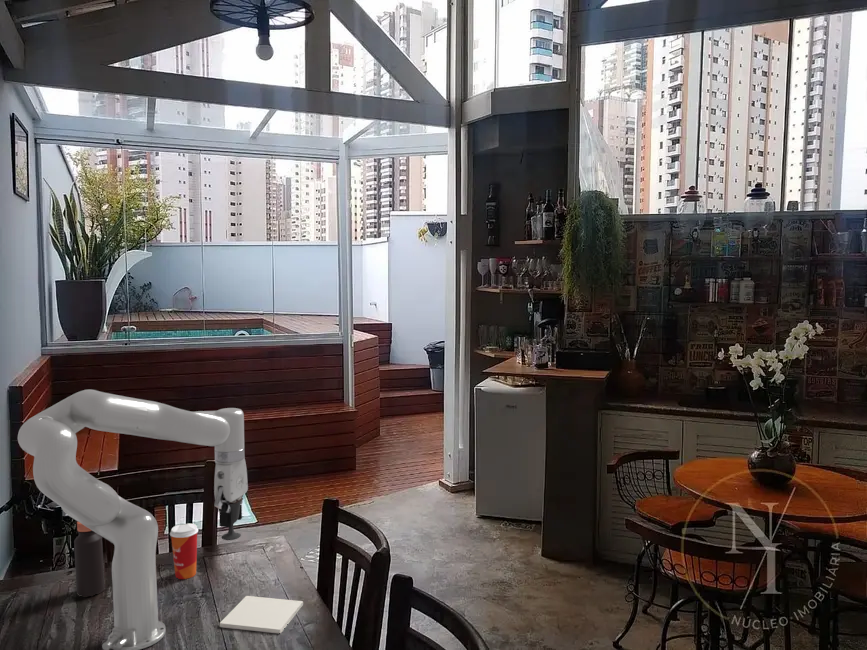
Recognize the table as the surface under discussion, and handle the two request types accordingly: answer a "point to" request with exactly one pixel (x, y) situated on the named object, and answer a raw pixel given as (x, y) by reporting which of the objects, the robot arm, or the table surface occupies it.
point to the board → (262, 614)
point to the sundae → (233, 519)
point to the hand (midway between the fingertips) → (231, 522)
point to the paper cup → (184, 550)
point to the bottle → (88, 561)
